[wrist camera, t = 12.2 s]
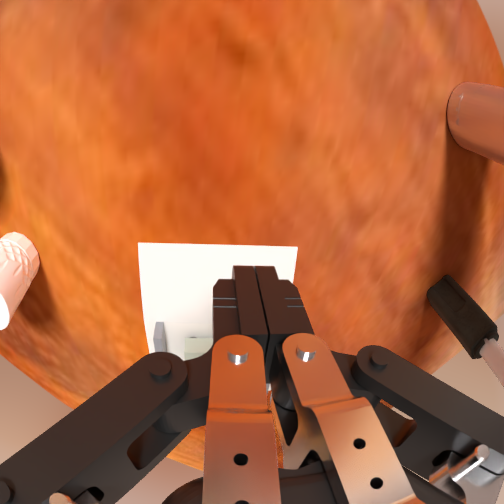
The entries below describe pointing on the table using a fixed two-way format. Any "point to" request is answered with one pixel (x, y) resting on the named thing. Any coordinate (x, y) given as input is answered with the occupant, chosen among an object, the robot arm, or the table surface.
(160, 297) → the loading dock
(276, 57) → the table surface
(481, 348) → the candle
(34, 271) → the white cup
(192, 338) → the grey rectangular block
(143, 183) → the table surface
